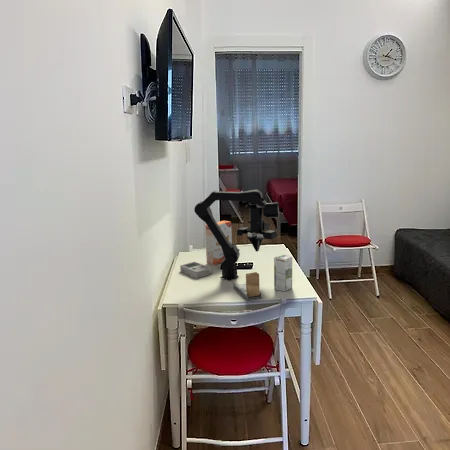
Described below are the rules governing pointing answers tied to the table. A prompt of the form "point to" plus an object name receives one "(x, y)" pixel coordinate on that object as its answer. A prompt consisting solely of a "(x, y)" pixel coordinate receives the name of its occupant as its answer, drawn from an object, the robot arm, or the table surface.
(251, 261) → the table surface
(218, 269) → the table surface
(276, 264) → the syrup box
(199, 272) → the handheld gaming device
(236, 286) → the rail
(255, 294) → the brown rectangular block
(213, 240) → the cracker box
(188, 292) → the table surface
